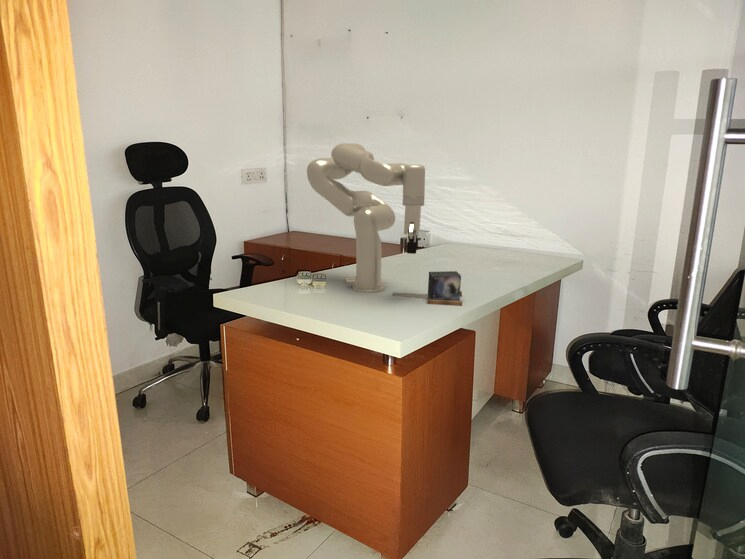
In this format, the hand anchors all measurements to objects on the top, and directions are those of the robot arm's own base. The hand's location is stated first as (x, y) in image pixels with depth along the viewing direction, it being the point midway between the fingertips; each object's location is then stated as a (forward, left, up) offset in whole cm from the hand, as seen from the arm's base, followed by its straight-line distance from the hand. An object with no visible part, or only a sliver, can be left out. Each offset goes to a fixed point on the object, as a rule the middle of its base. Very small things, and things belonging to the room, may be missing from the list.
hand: (412, 250), depth 184 cm
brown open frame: (+12, 0, -18) cm, 22 cm away
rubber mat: (-1, 0, -18) cm, 18 cm away
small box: (+12, 0, -18) cm, 22 cm away
